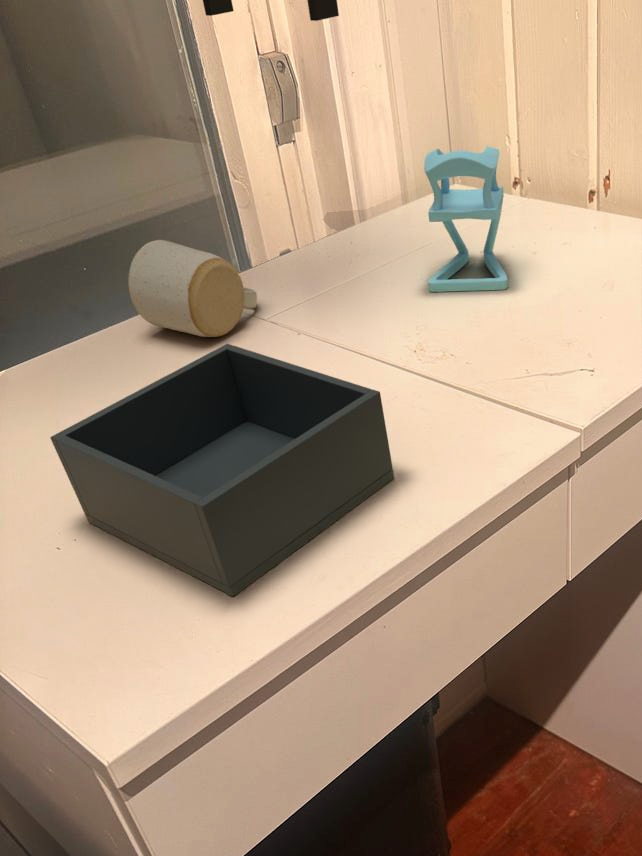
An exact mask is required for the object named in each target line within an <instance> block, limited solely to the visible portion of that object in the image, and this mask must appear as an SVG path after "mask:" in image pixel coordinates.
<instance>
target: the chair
mask: <svg viewBox="0 0 642 856" xmlns="http://www.w3.org/2000/svg"><path fill="white" fill-rule="evenodd" d="M499 156H500V149H499V148H496V147H491V146H488V145H487V146H486V147H485V148H484V150H483V151H482V152H473V151H469V150H453V151H449V152H446V153H444V152H442V151H441V149H440V148H436V149H433V150H432V151H430V152H428V153H427V154H425V157H424V163H423V169H424V173H425V175H426V177H427V180H428V181H429V184H430V187H431V189H432V192H433V202H432V204H431V206H430V208H429V210H428V211H427V213H428V214H427V215H428V223H441V222H442V224H443V226H444V228H445V230H446V231H447V234H448V235H449V237H450V238H451V241H452V242H453V244H454V246H455V248H456V250H457V254H456V255H455V256H454V257H453V258H452V259H451V260H450V261H448V262H447V263H446V264H445V265H444V266H443V267H441V268H440V269H439V270H438V271H437V272H435V273H434V274H433V275H432V276H431V277H430V278H429V279H428V281H427V283H428V290H429V292H431V293H441V292H471V291H473V292H474V291H476V292H477V291H502V290H507V289H508V288H509V287H508V285H509V284H508V276H507V273H506V272H505V270H504V268H503V267H502V266H501V264H500V262H499V261H498V259H497V257H496V256H495V253H494V247H495V242H496V239H497V234H498V229H499V224H500V220H501V216H502V210H503V203H504V197H505V195H504V186H499V184H498V182H497V167H498V163H499ZM456 177H471V178H478V179H482V180H484V182H483V186H482V188H473V189H471V188H470V189H456V188H455V189H453V188H450V178H456ZM439 181H440V185H439V183H438V182H439ZM453 220H479V221H480V220H481V221H490V224H489V228H488V233H487V235H486V239H485V243H484V246H483V260H484V263H485V265H486V267H487V269H488V270H489V271H490V273H491V274H492V276H493V277H487V278H486V277H485V278H459V279H457V278H456V279H455V278H454V279H450V278H451V277H452V276H454V275H455V274H456V273H457V272H458V271H460V270H461V269H462V268H464V266H466V264H467V263H468V262H469V261H470V254H469V249H468V248H467V245H466V244H465V242H464V240H463V239H462V237H461V235H460V233H459V231H458V229H457V228H456V225H455V223H454V222H453Z"/></svg>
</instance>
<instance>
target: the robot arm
mask: <svg viewBox="0 0 642 856" xmlns="http://www.w3.org/2000/svg"><path fill="white" fill-rule="evenodd" d="M202 4H203V8H204V13H205V16H208V17H212V16H216V15H221V14H227V13H232V12H234V6H233V1H232V0H202ZM307 7H308V14H309V20H310V21H311V22H318V21H322V20H327V19H331V18H337V17H339V16H340V13H339V7H338V0H307Z"/></svg>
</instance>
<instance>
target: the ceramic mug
mask: <svg viewBox="0 0 642 856" xmlns="http://www.w3.org/2000/svg"><path fill="white" fill-rule="evenodd" d="M127 279H128V281H127V282H128V283H127V284H128V291H129V292H128V293H129V296H130V300H131V302H132V305H133V307H134V308H135V310H136V311H137V313H138V314H139V316H140V317H141V318H142V319H143V320H145V322H147V323H149V324H151V325H153V326H156V327H160V328H164V329H169V330H172V331H177V332H181V333H182V332H183V333H187V334H190V335H194V336H198V337H203V338H219V337H222V336H225V335H226V334H228V333H229V332H230V331H232V330H233V329H234V328H235V327H236V325H237V324H238V322H239V321H240V319H241V317H242V314H243V312H244V309H256V307H257V300H258V293H257V291H256V290H254V289H252V288H248V287H245V286H244V284H243V279H242V277H241V275H240V273H239V272H238V270H237V269H236V267H235V265H232V263H230V262H229V261H228V260H226V259H224V258H222V257H220V256H218V255H216V254H213V253H211V252H207V251H204V250H199V249H195V248H192V247H189V246H185V245H182V244H179V243H176V242H173V241H169V240H165V239H156V240H152V241H149V242H147V243H145V244H144V245H142V246H141V247H140V248H139V249H138V251H136V253H135V255H134V257H133V258H132V261H131V264H130V266H129V271H128V278H127Z"/></svg>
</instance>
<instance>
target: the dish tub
mask: <svg viewBox="0 0 642 856" xmlns="http://www.w3.org/2000/svg"><path fill="white" fill-rule="evenodd" d="M388 437H389V436H388V431H387V425H386V419H385V414H384V408H383V402H382V396H381V391H380V390H376V389H372V388H369V387H366V386H364V385H363V386H362V385H360V384H356V383H353V382H351V381H348V380H344V379H342V378H341V379H340V378H338V377H335V376H331V375H329V374H325V373H322V372H318V371H316V370H312V369H309V368H307V367H303V366H299V365H297V364H293V363H290V362H286V361H284V360H281V359H278V358H274V357H271V356H268V355H265V354H262V353H259V352H255V351H252V350H249V349H246V348H243V347H239V346H236V345H233V344H230V343H225V344H224V345H222V346H220V347H218V348H216V349H214V350H212V351H211V352H209V353H206V354H204V355H202V356H201V357H199V358H197V359H195V360H194V361H192V362H189V363H187V364H185V365H183V366H182V367H180V368H178V369H176V370H175V371H172V372H171V373H169V374H167V375H165V376H163V377H161V378H159V379H157V380H155V381H154V382H152V383H150V384H148V385H146V386H144V387H142V388H140V389H138V390H137V391H135V392H133V393H131V394H128V395H127V396H125V397H124V398H121V399H120V400H118V401H116V402H114V403H112V404H111V405H110V404H109V405H108V406H106V407H104V408H102V409H101V410H99V411H97V412H95V413H93V414H91V415H90V416H87V417H86V418H83V419H82V420H80V421H78V422H76V423H74V424H72V425H71V426H69V427H67V428H65V429H63V430H61V431H59V432H57V433H56V434H53V435H51V436H50V441H51V443H52V445H53V447H54V450H55V451H56V454H57V457H58V458H59V461H60V462H61V464H62V465H61V466H62V467H63V469H64V472H65V474H66V475H67V478H68V480H69V482H70V485H71V487H72V489H73V492H74V493H75V496H76V498H77V500H78V503H79V504H80V507H81V509H82V511H83V513H84V516H85V518H86V521H87V522H88V523H90V524H91V525H94V526H95V527H97V528H99V529H101V530H103V531H105V532H107V533H109V534H111V535H113V536H115V537H117V538H119V539H120V540H123V541H124V542H127V543H128V544H131V545H132V546H134V547H136V548H138V549H140V550H142V551H143V552H146V553H148V554H149V555H152V556H153V557H155V558H157V559H159V560H160V561H163V562H166V563H167V564H169V565H171V566H173V567H175V568H177V569H179V570H181V571H182V572H184V573H187V574H188V575H190V576H192V577H194V578H197V579H198V580H200V581H202V582H204V583H206V584H208V585H209V586H212V587H213V588H216V589H217V590H219V591H221V592H223V593H225V594H227V595H229V596H231V597H235V596H236V595H237V594H239V593H240V592H241V591H243V590H244V589H246V588H247V587H249V586H250V585H251V584H252V583H253V582H255V581H256V580H258V579H259V578H261V577H262V576H263V575H265V574H266V573H267V572H269V571H270V570H271V569H273V568H274V567H276V566H277V565H278V564H280V563H281V562H282V561H284V560H285V559H286V558H288V557H289V556H290V555H293V554H294V553H295V552H296V551H297V550H298V549H300V548H302V547H303V546H304V545H306V544H307V543H309V541H311V540H313V539H314V538H315V537H316V536H318V535H319V534H321V533H322V532H323V531H324V530H326V529H327V528H329V527H330V526H332V525H333V524H334V523H335V522H337V521H338V520H340V519H341V518H342V517H344V516H345V515H347V514H348V513H349V512H351V511H352V510H353V509H354V508H356V507H357V506H358V505H360V504H361V503H363V502H364V501H365V500H366V499H368V498H370V497H371V496H372V495H373V494H375V493H377V492H378V491H379V490H380V489H382V488H383V487H385V486H386V485H387V484H389V483H390V482H391V481H392V480H394V479H395V474H394V469H393V467H394V466H393V462H392V456H391V450H390V449H391V448H390V443H389V438H388Z"/></svg>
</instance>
